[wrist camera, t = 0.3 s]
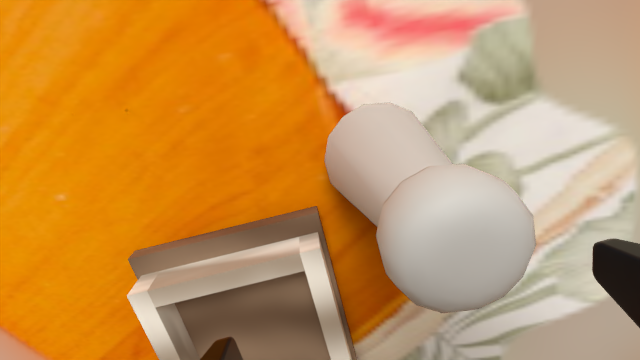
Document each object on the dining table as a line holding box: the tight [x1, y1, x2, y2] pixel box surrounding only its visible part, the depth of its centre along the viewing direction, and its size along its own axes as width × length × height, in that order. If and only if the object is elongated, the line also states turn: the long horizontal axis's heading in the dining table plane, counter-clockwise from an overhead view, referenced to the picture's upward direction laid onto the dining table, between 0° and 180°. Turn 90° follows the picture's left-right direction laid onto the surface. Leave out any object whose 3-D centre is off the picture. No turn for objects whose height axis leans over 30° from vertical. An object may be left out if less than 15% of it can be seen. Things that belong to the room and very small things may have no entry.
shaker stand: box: [127, 206, 357, 360], centre depth 23 cm, size 14×12×3 cm
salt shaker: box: [325, 103, 536, 313], centre depth 15 cm, size 6×6×13 cm
